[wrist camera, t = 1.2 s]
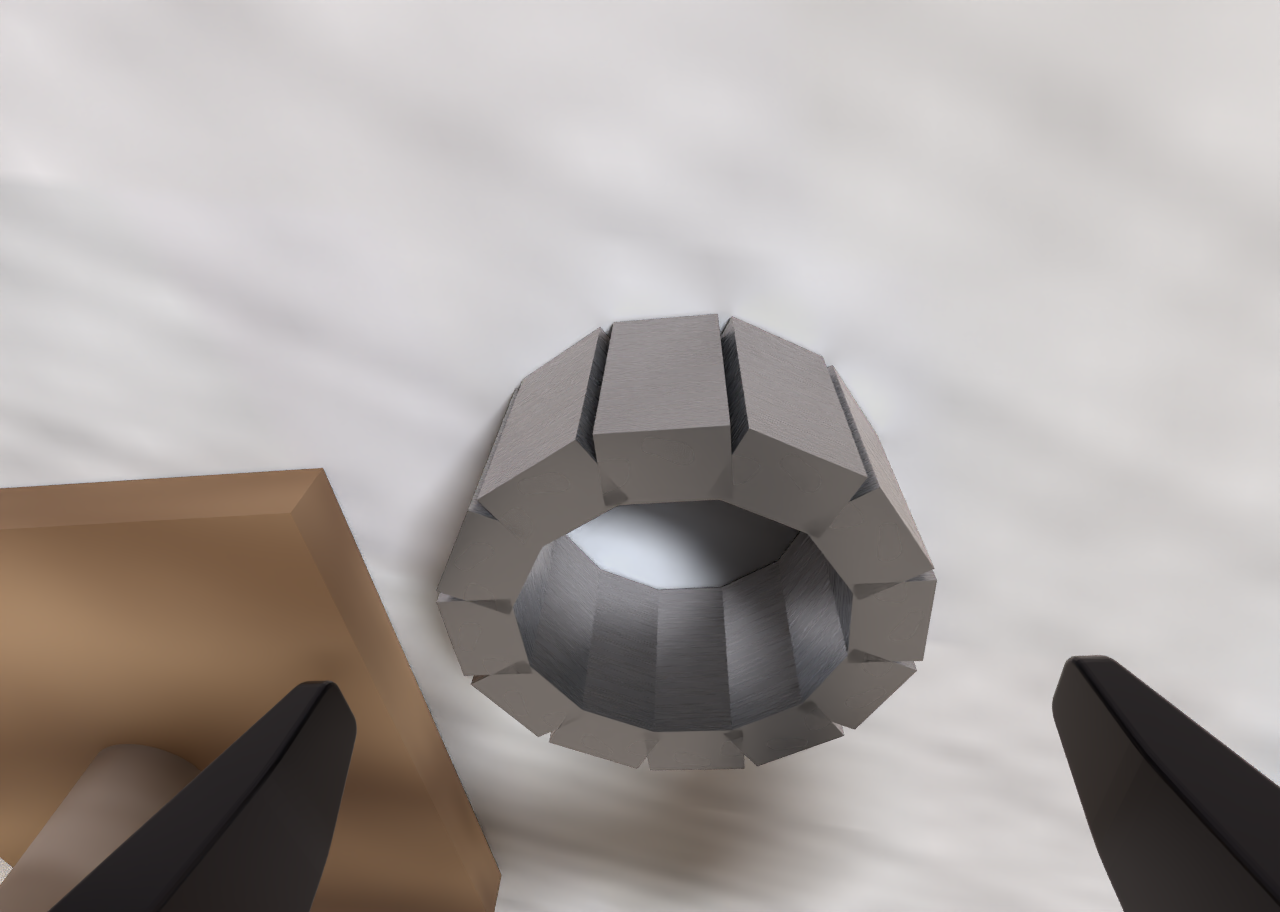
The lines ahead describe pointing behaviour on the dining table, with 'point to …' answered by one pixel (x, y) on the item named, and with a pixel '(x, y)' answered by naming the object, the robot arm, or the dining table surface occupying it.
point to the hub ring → (698, 617)
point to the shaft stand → (208, 681)
